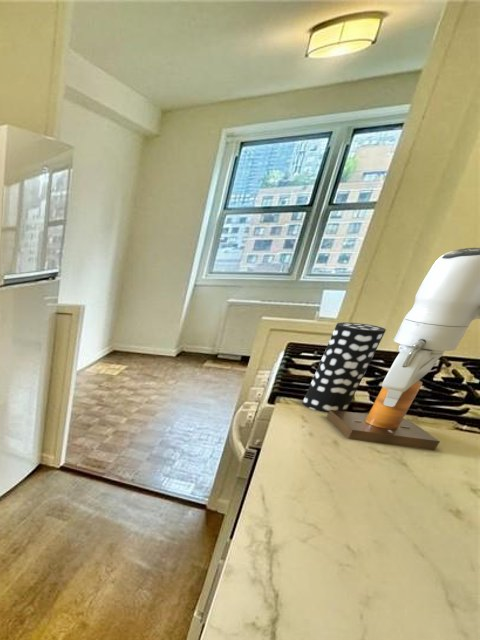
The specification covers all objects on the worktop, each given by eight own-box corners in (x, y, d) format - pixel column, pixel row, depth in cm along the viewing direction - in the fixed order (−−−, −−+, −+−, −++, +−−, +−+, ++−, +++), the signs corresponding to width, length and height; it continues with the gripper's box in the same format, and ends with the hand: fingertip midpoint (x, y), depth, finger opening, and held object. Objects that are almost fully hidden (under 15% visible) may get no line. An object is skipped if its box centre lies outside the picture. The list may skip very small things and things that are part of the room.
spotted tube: (316, 400, 123) (352, 321, 113) (353, 413, 116) (395, 329, 106) (293, 404, 120) (328, 323, 111) (329, 417, 113) (369, 332, 104)
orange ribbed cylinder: (391, 421, 105) (416, 376, 100) (402, 430, 100) (428, 384, 96) (361, 417, 107) (383, 373, 102) (370, 426, 102) (395, 380, 98)
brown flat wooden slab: (402, 429, 107) (408, 418, 106) (433, 452, 97) (440, 440, 96) (325, 419, 112) (330, 408, 111) (347, 440, 102) (352, 429, 101)
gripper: (439, 348, 87) (401, 418, 94) (460, 332, 98) (424, 396, 104) (392, 340, 92) (359, 408, 98) (417, 326, 102) (385, 388, 109)
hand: (393, 402), depth 101 cm, fingers closed on orange ribbed cylinder, 5 cm apart
